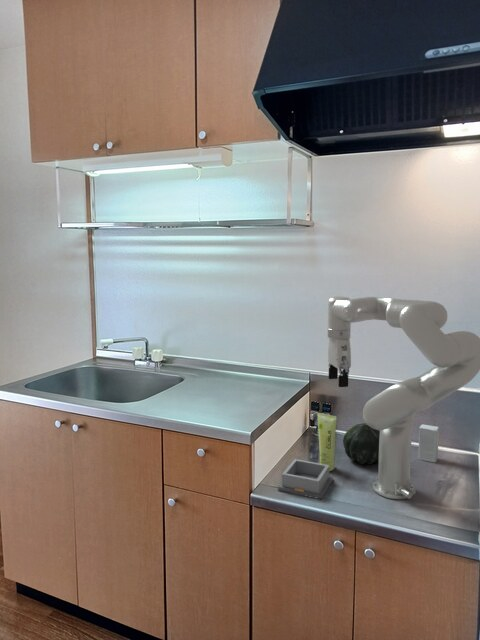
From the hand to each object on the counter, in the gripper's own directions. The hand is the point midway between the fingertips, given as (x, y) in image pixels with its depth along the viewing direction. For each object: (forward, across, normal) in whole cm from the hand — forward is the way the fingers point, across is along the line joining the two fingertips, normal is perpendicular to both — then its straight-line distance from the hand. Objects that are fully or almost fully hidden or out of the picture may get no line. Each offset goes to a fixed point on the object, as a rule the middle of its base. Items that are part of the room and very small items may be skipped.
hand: (338, 382), depth 170 cm
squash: (+30, +2, -11) cm, 32 cm away
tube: (+30, -2, +4) cm, 30 cm away
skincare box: (+30, -3, -33) cm, 45 cm away
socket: (+30, -12, +15) cm, 35 cm away
